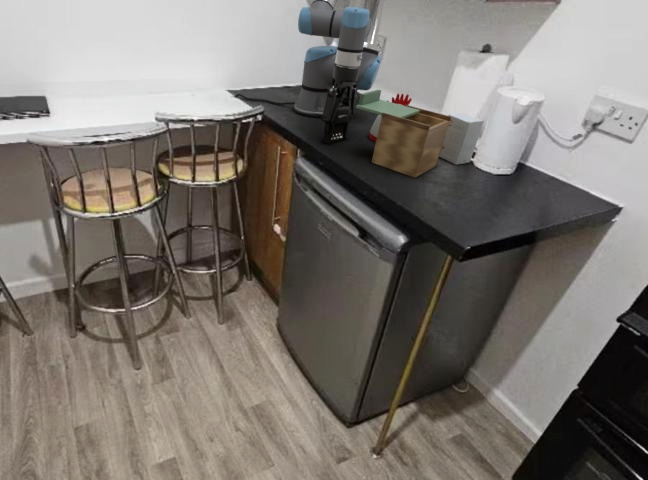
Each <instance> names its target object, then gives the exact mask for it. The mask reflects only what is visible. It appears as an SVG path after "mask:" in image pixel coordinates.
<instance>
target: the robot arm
mask: <svg viewBox="0 0 648 480" xmlns="http://www.w3.org/2000/svg"><path fill="white" fill-rule="evenodd" d="M386 1H387V0H359V2H358V3H359V4H358V7H357V6H353V7H352V6H347V7H344V9H343V11H342V10H336V9H335V8H336V5H337V2H338V0H311V3H310V6H307V7H305V6H304V7H302V8H301V9H300V11H299V15H298V19H297V29H298V32H299V33H300V34H303V35H307V36H311V37H312V36H313V37H314V36H315V37H325V38H332V39H338V42H337V46H335V45H319V46H318V45H317V46H312V47H309V48H308V49H307V50H306V52H305V56H304V60H303V71H302V80H301V87H300V91H299V94H298V96H297V98H296V99H295V102H294V101H291V102H289V101H288V102H278V101H273V100H269V99H264V98H255V97H254V98H252V97H248V96H245V95H243V94H242V93H236V94H235V95H234V96H233V97H234V98H237V97H241V98H243V99H245V100H247V101H253V102H265V103H270V104H273V105H277V106H278V105H279V106H285V105H293V111H294V112H296V114H299V115H302V116H306V117H309V118H310V117H311V118H321V121H322V122H324V130H323V131H324V132H323V138H322V143H325V144H329V145H330V144H332V142H331V140H332V134H333V128H334V123H333V121H334V118H335V115H336V113H337V110H338V108H339V105H340V104H344V105H347V106H348V107H349V109H350V112H349V119H348V122H345V123H344V127H343V140H344V139H347V134H348V129H349V123H350V119H354V115H355V114H356V105H357V104H356V103H357V96H358V95H357V94H358V91H369V90H371V89H372V87H373V86H374V83H375V81H376V78H377V76H378V73H379V69H380V66H381V64H382V57H381V56H379V53H380V50H379V49H378V47H377V42H378V37H379V33H380V28H381V25H382V19H383V16H384V15H383V14H384V10H385V5H386Z"/></svg>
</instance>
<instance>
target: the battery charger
mask: <svg viewBox="0 0 648 480" xmlns="http://www.w3.org/2000/svg"><path fill="white" fill-rule="evenodd" d="M349 112H350V109H349V107H348V106H347V105H344V104H342V103H340V105H339V108H338V110H337V113H336V115H335V118H334V121H333V123H334V128H333V134H332V140H331V143H333V142H339V141H343V140H344V138H343V127H344V123H345V122H348V119H349V120H350V118H349Z"/></svg>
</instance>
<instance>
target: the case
mask: <svg viewBox="0 0 648 480" xmlns="http://www.w3.org/2000/svg"><path fill="white" fill-rule="evenodd" d="M405 106H407V107H410V108H414V109H418V110H420V113H417V114H415V115H412V116H409V117H406V118H401V117H398V116H394V115H390V114H387V113H382V116H381V117H382V118H381V122H380V127H379V131H378V136H377V140H376V142H375V144H374V150H373V154H372V158H371V163H372V164H375V165H378V166H380V167H383V168H386V169H389V170H392V171H395V172H398V173H401V174H402V175H406V176H409V177H412V178H415V179H416V178H417V177H419V176H421V175H422V174H425V173H426V172H428V171H430V170H431V169H433V168H435V167H437V164H438V161H439V159H440V157H439V155H440V152H441V148H442V145H443V142H444V139H445V135H446V132H447V129H448V126H449V123H450V120H451V116H449V115H447V114H443V113H440V112H436V111H432V110H428V109H424V108H420V107H416V106H412V105H410V104H409V105H405Z"/></svg>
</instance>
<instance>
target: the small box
mask: <svg viewBox="0 0 648 480" xmlns="http://www.w3.org/2000/svg"><path fill="white" fill-rule="evenodd" d="M448 116H451V120H450V123H449V126H448V129H447V132H446V135H445V139H444V142H443V145H442V148H441V152H440V155H439V158H441V159H443V160H445V161H447V162H450V163H452V164H454V166H455V165H456V166H457V165H462V164H468V163H469V164H470V163H471V161H472V157H473V155H474V152H475V148H476V145H477V143H478V140H479V136H480V134H481V131H482V128H483V124H484V122H485V120H482V119H480V118H477V117H474V116H472V115H469V114H466V113H450V114H448Z"/></svg>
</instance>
